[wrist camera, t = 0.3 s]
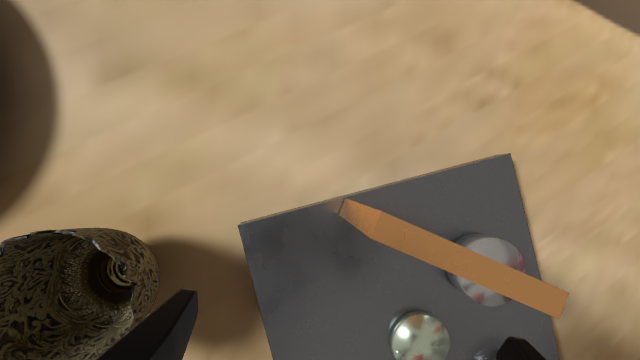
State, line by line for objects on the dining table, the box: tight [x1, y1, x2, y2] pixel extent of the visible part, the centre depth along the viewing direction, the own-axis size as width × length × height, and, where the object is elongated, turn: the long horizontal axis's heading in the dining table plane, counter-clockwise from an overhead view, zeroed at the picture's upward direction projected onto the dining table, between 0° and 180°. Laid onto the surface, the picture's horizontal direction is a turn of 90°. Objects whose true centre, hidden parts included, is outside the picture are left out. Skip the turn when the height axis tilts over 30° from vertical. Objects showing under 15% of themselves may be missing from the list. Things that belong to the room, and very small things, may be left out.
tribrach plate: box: [238, 153, 560, 360], centre depth 23 cm, size 20×20×4 cm
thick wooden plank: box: [339, 198, 569, 319], centre depth 18 cm, size 13×4×9 cm, turn 66°
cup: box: [0, 228, 160, 360], centre depth 19 cm, size 8×7×8 cm
